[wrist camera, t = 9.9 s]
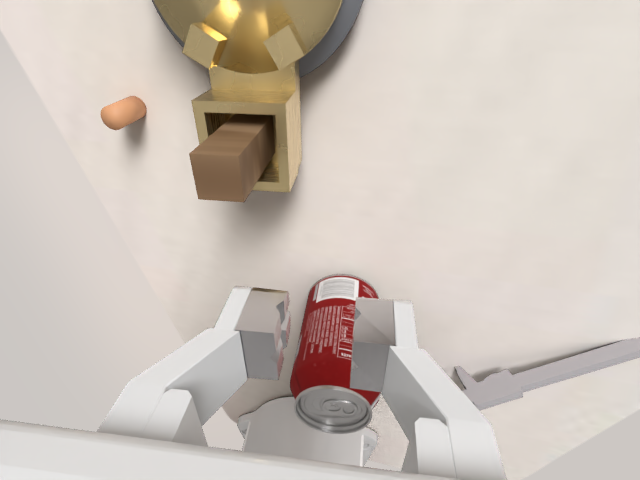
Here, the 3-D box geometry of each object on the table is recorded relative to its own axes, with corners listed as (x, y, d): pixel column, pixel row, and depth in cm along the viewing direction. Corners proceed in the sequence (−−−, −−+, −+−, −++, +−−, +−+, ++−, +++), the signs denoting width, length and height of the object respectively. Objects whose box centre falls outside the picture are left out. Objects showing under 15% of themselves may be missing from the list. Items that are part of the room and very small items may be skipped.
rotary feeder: (342, 166, 26) (337, 195, 22) (192, 158, 27) (163, 185, 23) (357, -200, 16) (352, -257, 12) (122, -188, 17) (54, -238, 14)
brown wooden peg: (275, 152, 24) (244, 202, 18) (239, 150, 24) (198, 199, 19) (272, 115, 23) (238, 156, 17) (235, 113, 23) (189, 153, 17)
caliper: (439, 373, 41) (449, 428, 35) (437, 366, 40) (446, 422, 35) (661, 338, 34) (713, 400, 29) (661, 330, 34) (714, 392, 28)
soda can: (311, 264, 34) (286, 376, 24) (384, 274, 33) (389, 392, 24) (307, 316, 38) (284, 430, 28) (373, 325, 37) (373, 445, 27)
